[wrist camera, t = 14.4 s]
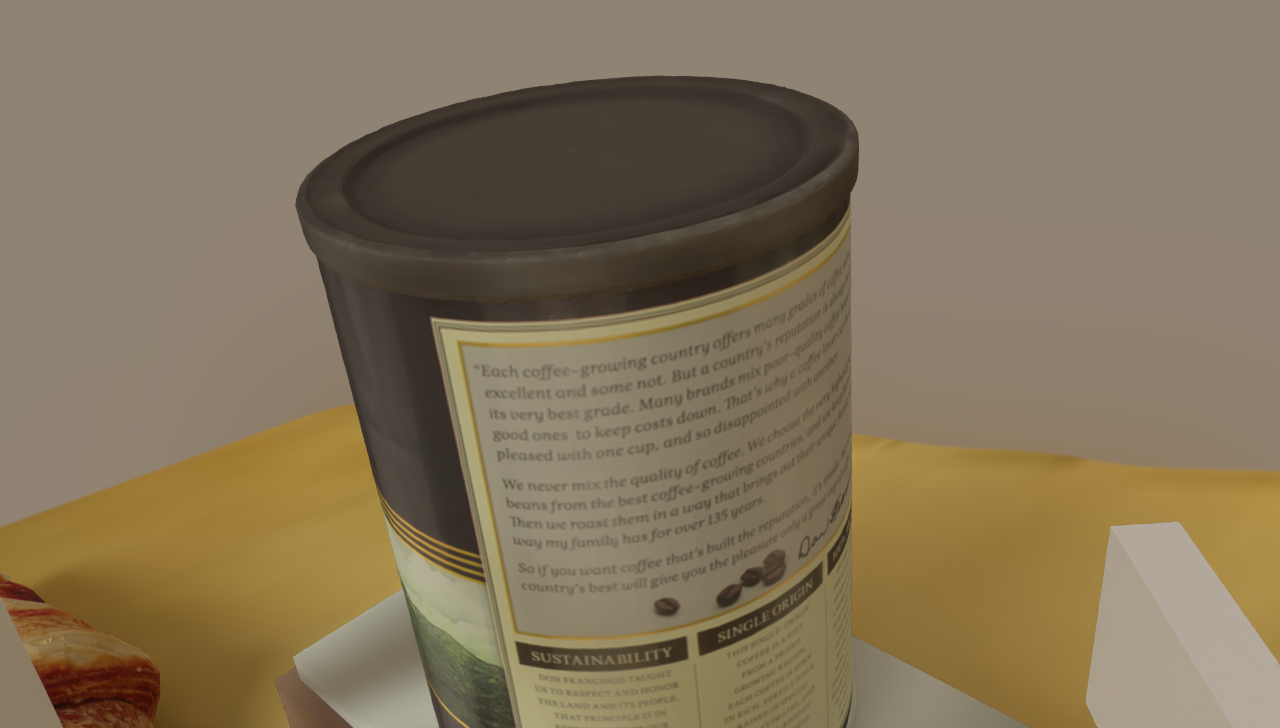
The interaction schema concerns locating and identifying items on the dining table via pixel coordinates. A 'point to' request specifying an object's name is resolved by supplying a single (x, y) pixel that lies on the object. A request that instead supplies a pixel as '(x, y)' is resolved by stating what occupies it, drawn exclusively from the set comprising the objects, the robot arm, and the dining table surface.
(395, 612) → the stand
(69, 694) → the croissant
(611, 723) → the coffee can
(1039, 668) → the dining table surface
